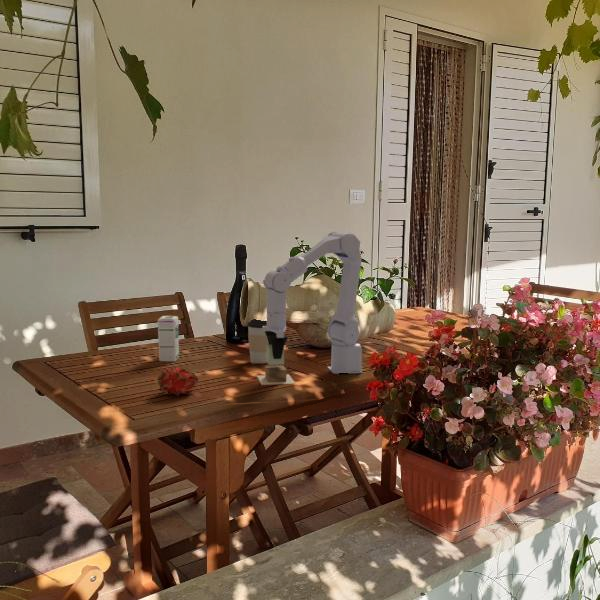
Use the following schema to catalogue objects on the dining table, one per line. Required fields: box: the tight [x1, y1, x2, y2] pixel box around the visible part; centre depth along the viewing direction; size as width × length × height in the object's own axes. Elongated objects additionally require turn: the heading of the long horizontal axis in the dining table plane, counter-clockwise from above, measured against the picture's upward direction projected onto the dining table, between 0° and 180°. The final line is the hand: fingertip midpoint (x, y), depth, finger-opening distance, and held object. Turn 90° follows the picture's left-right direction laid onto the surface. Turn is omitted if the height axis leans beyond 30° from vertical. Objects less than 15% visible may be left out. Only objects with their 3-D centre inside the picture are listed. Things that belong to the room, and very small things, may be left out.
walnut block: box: [264, 364, 287, 382], centre depth 195 cm, size 6×6×4 cm
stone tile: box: [256, 373, 296, 386], centre depth 196 cm, size 10×10×1 cm
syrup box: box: [157, 315, 180, 362], centre depth 218 cm, size 6×6×14 cm
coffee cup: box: [247, 319, 269, 364], centre depth 217 cm, size 9×9×15 cm
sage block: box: [266, 345, 285, 366], centre depth 194 cm, size 4×4×5 cm
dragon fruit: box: [156, 366, 199, 397], centre depth 181 cm, size 8×8×12 cm
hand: (275, 356), depth 195 cm, fingers closed on sage block, 4 cm apart
